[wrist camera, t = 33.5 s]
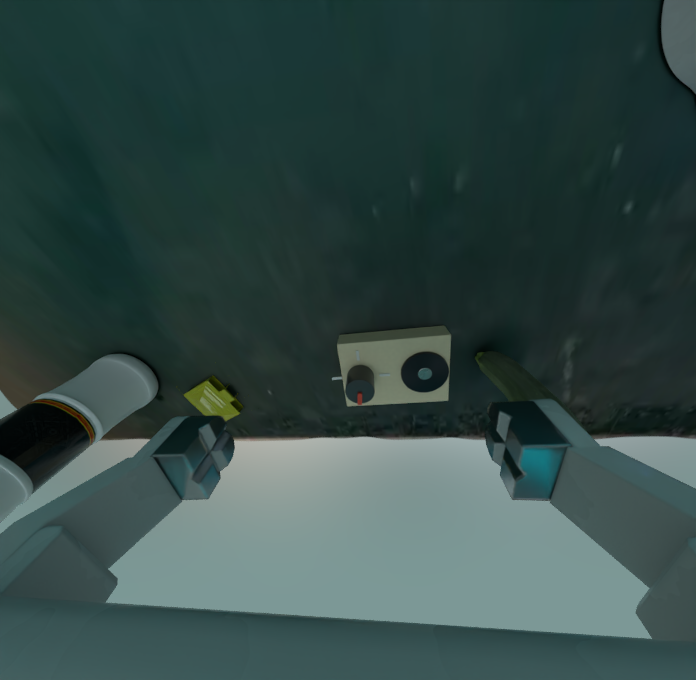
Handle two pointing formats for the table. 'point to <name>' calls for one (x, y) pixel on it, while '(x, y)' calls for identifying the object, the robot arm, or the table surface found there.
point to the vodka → (68, 423)
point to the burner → (424, 372)
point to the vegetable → (515, 379)
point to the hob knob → (360, 384)
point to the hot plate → (393, 361)
